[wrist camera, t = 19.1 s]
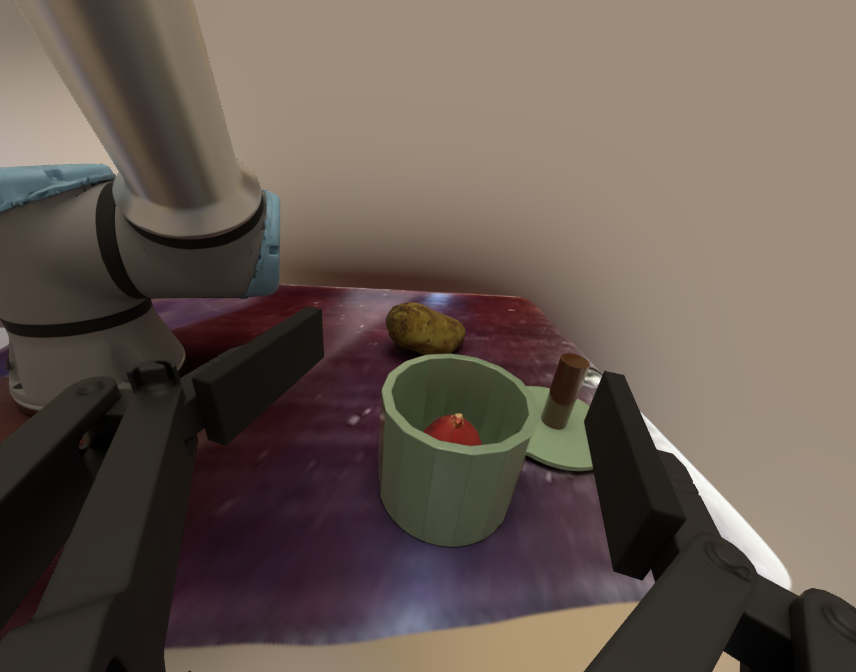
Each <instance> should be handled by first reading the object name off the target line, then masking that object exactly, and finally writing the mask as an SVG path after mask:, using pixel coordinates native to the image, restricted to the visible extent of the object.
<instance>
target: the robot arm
mask: <svg viewBox="0 0 856 672" xmlns="http://www.w3.org/2000/svg"><path fill="white" fill-rule="evenodd" d="M13 1H14V3H15V4H16V6H17V8H18V9H19V11H20V13H21V14H22V16H23V17H24V19H25V21H26V22H27V24H28V25H29V27H30V29H31V30H32V32H33V33H34V35H35V37H36V38H37V40H38V42H39V43H40V45H41V46H42V48H43V49H44V51H45V53H46V54H47V56H48V58H49V59H50V61H51V63H52V64H53V66H54V67H55V68H56V71H57V72H58V74H59V75H60V77H61V79H62V80H63V82H64V83H65V85H66V87H67V88H68V90H69V91H70V93H71V95H72V96H73V98H74V100H75V101H76V103H77V104H78V106H79V108H80V109H81V111H82V113H83V114H84V116H85V117H86V119H87V121H88V122H89V124H90V125H91V127H92V129H93V130H94V132H95V133H96V135H97V137H98V138H99V140H100V142H101V143H102V145H103V146H104V148H105V150H106V151H107V153H108V154H109V156H110V158H111V159H112V161H113V163H114V164H115V166H116V167H117V169H118V171H119V173H118V174H117V176H116V175H115V174H114V173H113V172H112V170H111V169H110V167H108V166H107V165H104V164H63V165H41V166H20V167H3V168H0V320H1V322H2V323H3V325H4V327H5V329H6V331H7V333H8V336H9V356H8V359H7V362H6V372H7V369H8V366H9V378H10V379H9V387H10V393H11V395H12V397H13V399H14V400H15V402H16V404H17V405H18V407H19V408H20V410H21V411H23V412H24V413H26V414H28V415H30V416H32V417H31V418H30V419H29V420H28V421H26V422H25V423H24V424H23V425H22V426H20V427H19V428H18V429H17V430H16V431H14V432H13V433H12V434H11V435H10V436H8V437H7V438H6V439H5V440H4V441H3V442H1V443H0V631H1V630H2V628H3V627H4V625H5V624H6V623H7V621H8V620H9V619H10V617H11V616H12V614H13V613H14V612H15V610H16V609H17V608H18V606H19V605H20V604H21V602H22V601H23V599H24V598H25V597H26V595H27V594H28V593H29V591H30V590H31V588H32V587H33V586H34V584H35V583H36V582H37V580H38V579H39V578H40V576H41V575H42V573H43V572H44V571H45V569H46V568H47V567H48V565H49V564H50V562H51V561H52V560H53V558H54V557H55V556H56V554H57V553H58V552H59V550H60V549H61V547H62V546H63V545H64V543H65V542H66V541H67V539H68V538H69V539H68V541H67V543H66V545H65V548H64V550H63V552H62V554H61V557H60V559H59V561H58V563H57V566H56V568H55V570H54V572H53V575H52V577H51V579H50V581H49V584H48V586H47V588H46V590H45V592H44V595H43V597H42V599H41V601H40V604H39V606H38V608H37V610H36V612H35V614H34V616H33V617H32V619H31V620H30V621H29V622H28V623H27V624H25V625H22V626H19V627H16V628H14V629H12V630H11V631H10V632H9V633H8V634H7V635H6V636H4V637H3V639H2V640H1V642H0V672H166V671H165V662H164V647H165V640H166V633H167V627H168V621H169V615H170V609H171V603H172V597H173V591H174V585H175V579H176V573H177V567H178V561H179V555H180V549H181V542H182V536H183V530H184V524H185V518H186V512H187V506H188V500H189V494H190V488H191V482H192V476H193V470H194V464H195V457H196V451H197V445H198V438H197V435H196V434H197V433H198V432H200V431H201V430H202V429H203V428H205V430H206V434H207V438H208V440H210V441H213V442H216V443H219V444H222V445H225V446H226V445H227V444H228V443H229V442H230V441H231V440H233V439H234V438H235V437H236V436H237V435H238V434H239V433H240V432H241V431H243V430H244V429H245V428H246V427H247V426H248V425H249V424H250V423H251V422H253V421H254V420H255V419H256V418H257V417H258V416H259V415H260V414H261V413H262V412H264V411H265V410H266V409H267V408H268V407H269V406H270V405H271V404H272V403H274V402H275V401H276V400H277V399H278V398H279V397H280V396H281V395H282V394H284V393H285V392H286V391H287V390H288V389H289V388H290V387H291V386H292V385H294V384H295V383H296V382H297V381H298V380H299V379H300V378H301V377H302V376H303V375H305V374H306V373H307V372H308V371H309V370H310V369H311V368H312V367H313V366H315V365H316V364H317V363H318V362H319V361H320V360H321V359H322V358H323V357H324V348H323V328H322V309H318V308H313V307H309V306H307V307H306V308H304V309H302V310H301V311H299V312H297V313H296V314H294V315H293V316H291V317H289V318H288V319H286V320H284V321H283V322H281V323H280V324H278V325H276V326H275V327H273V328H271V329H270V330H268V331H266V332H265V333H263V334H262V335H260V336H258V337H257V338H255V339H253V340H252V341H250V342H249V343H247V344H245V345H244V346H242V345H241V346H238V347H235V348H232V349H229V350H227V351H225V352H224V353H222V354H220V355H218V356H217V358H213V359H212V360H210V361H209V362H208V363H205V364H203V365H202V366H200V367H198V368H197V369H195V370H193V371H192V372H190V373H188V374H187V375H185V376H183V377H182V378H180V377H181V376H182V374H183V373H184V372H185V370H186V367H187V358H186V354H185V351H184V348H183V346H182V345H181V343H180V342H179V340H178V339H177V338H176V337H175V335H174V334H173V333H172V332H171V330H170V329H169V328H168V327H167V325H166V324H165V323H164V321H163V320H162V319H161V318H160V316H159V315H158V314H157V313H156V311H155V310H154V308H153V305H152V301H151V299H154V298H240V299H246V298H248V297H257V296H268V295H271V294H273V293H274V292H275V291H276V290H277V289H278V286H279V263H280V260H279V258H280V254H279V253H280V199H279V197H278V196H277V195H276V194H274V193H271V192H269V191H267V190H261V187H260V184H259V181H258V179H257V176H256V175H255V173H254V172H253V171H252V170H251V169H250V168H249V167H248V166H247V165H246V164H245V163H244V162H242V161H240V160H239V159H238V158H236V157H235V155H234V151H233V147H232V144H231V140H230V136H229V133H228V129H227V125H226V121H225V117H224V113H223V110H222V106H221V102H220V99H219V95H218V91H217V88H216V84H215V80H214V76H213V72H212V69H211V65H210V62H209V57H208V54H207V50H206V46H205V43H204V39H203V35H202V32H201V28H200V24H199V20H198V17H197V13H196V9H195V5H194V1H193V0H13ZM584 426H585V431H586V436H587V441H588V446H589V451H590V456H591V461H592V466H593V471H594V476H595V481H596V486H597V491H598V496H599V501H600V506H601V511H602V516H603V521H604V527H605V532H606V537H607V542H608V547H609V552H610V557H611V562H612V567H613V571H614V572H617V573H620V574H623V575H626V576H630V577H633V578H636V579H639V580H643V579H644V578H645V576H646V575H647V574H648V572H649V571H650V569H651V570H652V573H653V577H654V580H655V584H654V585H653V586H652V588H651V589H650V590H649V591H648V593H647V594H646V595H645V596H644V598H643V599H642V600H641V601H640V603H639V604H638V605H637V606H636V608H635V609H634V610H633V611H632V612H631V614H630V615H629V616H628V618H627V619H626V620H625V621H624V622H623V624H622V625H621V626H620V627H619V629H618V630H617V631H616V632H615V634H614V635H613V636H612V637H611V639H610V640H609V641H608V642H607V643H606V645H605V646H604V647H603V648H602V650H601V651H600V652H599V653H598V655H597V656H596V657H595V658H594V660H593V661H592V662H591V663H590V665H589V666H588V667H587V668H586V670H585V671H584V672H712V671H713V669H714V667H715V665H716V663H717V662H718V660H719V658H720V656H721V654H722V652H723V651H724V652H726V653H727V654H729V655H730V656H732V657H734V658H735V659H737V660H738V661H740V672H856V608H855V607H853V606H852V605H850V604H849V603H847V602H846V601H844V600H843V599H841V598H840V597H838V596H836V595H833V594H831V593H829V592H827V591H825V590H820V589H815V588H811V589H808V590H806V591H804V592H803V593H802V594H801V595H799V596H798V595H796V594H794V593H792V592H790V591H788V590H786V589H785V588H783V587H781V586H779V585H777V584H775V583H773V582H771V581H770V580H768V579H766V578H764V577H762V576H761V575H759V574H757V572H756V569H755V567H754V565H753V564H752V563H751V561H750V560H749V559H748V558H747V556H746V555H745V554H744V553H743V552H741V551H740V550H739V549H738V548H737V547H736V546H735V545H733V544H732V543H730V542H728V541H727V540H725V539H724V538H722V537H721V535H720V533H719V531H718V530H717V528H716V526H715V524H714V522H713V520H712V518H711V516H710V514H709V512H708V510H707V508H706V506H705V504H704V502H703V500H702V498H701V496H700V495H698V493H699V492H698V490H697V488H696V486H695V484H693V480H692V478H691V476H690V474H689V473H688V471H687V469H686V467H685V466H684V465H683V464H682V463H681V462H680V461H679V460H678V459H677V458H676V456H675V455H674V454H672V453H668V452H664V451H660V450H657V449H656V447H655V445H654V443H653V440H652V438H651V436H650V433H649V431H648V429H647V426H646V424H645V422H644V420H643V417H642V415H641V413H640V410H639V408H638V406H637V404H636V401H635V399H634V397H633V394H632V392H631V390H630V388H629V386H628V383H627V381H626V379H625V376H624V375H621V374H616V373H612V372H607V371H604V373H603V376H602V378H601V380H600V383H599V385H598V388H597V390H596V393H595V395H594V397H593V400H592V402H591V405H590V407H589V410H588V412H587V414H586V417H585V419H584ZM82 437H83V438H84V440H85V443H84V444H83V445H82V446H81V447H80V448H79V444H80V440H81V439H82ZM188 672H191V671H188Z"/></svg>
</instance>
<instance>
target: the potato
mask: <svg viewBox="0 0 856 672" xmlns="http://www.w3.org/2000/svg"><path fill="white" fill-rule="evenodd" d="M386 326H387V329H388V331H389V335H390V338H392V340H393V341H394V342H396V344H397V345H399V346H400V347H403V348H405V349H409V350H412V351H416V352H418V353H420V354H423V355H434V354H449V353H451V352H453V351H455V350H456V349H457V348H458V347H459V346H460V345H461V344H462V343H463V341H464V338H465V334H466V331H465V328H464V326H463V325H462V324H461V323H460V322H459V321H457V320H455V319H453V318H451V317H448V316H446V315H443V314H440V313H438V312H436V311H433V310H431V309H430V308H428V307H426V306H424V305H421V304H418V303H403V304H400V305H397V306H394V307H392V309H391V310H390V312H389V313H388V315H387V318H386Z"/></svg>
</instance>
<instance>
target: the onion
mask: <svg viewBox="0 0 856 672" xmlns="http://www.w3.org/2000/svg"><path fill="white" fill-rule="evenodd" d="M423 432H424V433H426V434H428V435H430V436H431V437H433V438H435V439H437V440H440V441H445V442H451V443H456V444H462V445H467V446H477V445H482V442H481V439H480V437H479V434H478V432H477V430H476V429H475V427H474V426H473V425H472V424H471V423H470V422H469V421H467V420H466V419H464V418H463V417H462V414H460V413H458V414H454V415H445V416H443V417H440V418H437V419H435V420H434V421H433V422H432V423H431V424H430V425H429V426H428V427H426V428H425V429H424V431H423Z"/></svg>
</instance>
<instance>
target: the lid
mask: <svg viewBox="0 0 856 672" xmlns="http://www.w3.org/2000/svg"><path fill="white" fill-rule="evenodd" d="M589 367H590V363H589V362H588V361H587V360H586V359H585V358H583V357H581V356H579V355H576V354H570V353H566V354H563V355H561V357H560V360H559V363H558V366H557V369H556V372H555V375H554V378H553V381H552V384H551V387H550V389H549V388H544V387H535V386H527V388H528V390H529V391H530V392H531V393H532V395H533V396H534V397H535V400H536V405H537V409H538V414H539V421H538V424H537V427H536V430H535V433H534V436H533V439H532V442H531V445H530V448H529V451H528V454H527V456H529V457H531V458H533V459H535V460H536V461H538V462H541V463H543V464H546V465H548V466H551V467H554V468H558V469H563V470H569V471H589V470H593V466H592V461H591V456H590V451H589V446H588V441H587V436H586V431H585V426H584V419H585V417H586V414H587V412H588V410H589V407H590V406H589V405H587V404H586V403H584V402H582V401H581V400H579V399H577V398H578V395H579V392H580V390H581V387H582V385H583V382H584V379H585V377H586V374H587V372H588V369H589Z"/></svg>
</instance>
